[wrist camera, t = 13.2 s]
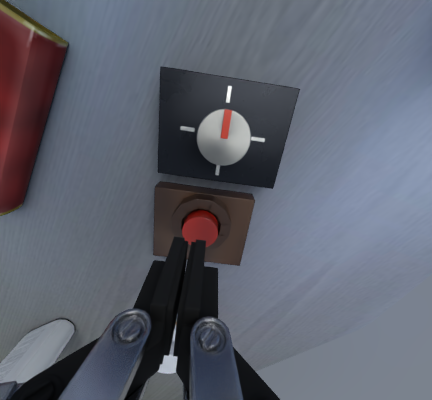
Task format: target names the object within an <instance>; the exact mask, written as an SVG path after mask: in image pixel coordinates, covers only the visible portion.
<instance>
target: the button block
mask: <svg viewBox="0 0 432 400" xmlns="http://www.w3.org/2000/svg"><path fill="white" fill-rule="evenodd" d="M254 203H255V199H254V197H253V195H252V194H248V193H241V192H234V191H226V190H219V189H212V188H205V187H197V186H190V185H183V184H176V183H168V182H161V181H160V182H159V183H158V184H157V185H156V186H155V206H154V251H153V255H156V256H165V257H167V256H168V253H169V250H170V247H171V244H172V241H173V238H174V237H182V238H183V235H182V228H183V225H184V222H185V219H186V217H187V216H188V215H189V214H190V213H192V212H194V211H198V210H204V211H207V212H210V213H211V214H212V215H214V216H215V218H216V219H217V222H218V236H217V239H216V241H215V242H214V243H213V244H211V245H210V246H208V247H206V249H205V260H204V261H205V262H213V263H221V264H230V265H238V266H240V262H241V258H242V254H243V249H244V245H245V241H246V237H247V232H248V228H249V224H250V220H251V215H252V211H253V207H254ZM190 247H191V245H189V244H188V250H187V259H188V257H189V252H190Z"/></svg>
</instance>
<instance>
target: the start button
mask: <svg viewBox="0 0 432 400" xmlns="http://www.w3.org/2000/svg"><path fill="white" fill-rule="evenodd" d="M182 235H183V238H185V241H188V244H189V245H191V242H196V239H198V240H206V247H208V246H210V245H211V244H213V243H214V242H215V241H216V239H217V236H218V222H217V219H216V218H215V216H214V215H212V214H211V213H210V212H207V211H204V210H198V211H194V212H192V213H190V214H189V215H188V216H187V217H186V219H185V222H184V225H183V228H182Z"/></svg>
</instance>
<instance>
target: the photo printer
mask: <svg viewBox="0 0 432 400" xmlns="http://www.w3.org/2000/svg"><path fill="white" fill-rule="evenodd" d="M74 332H75V330H74V325H73V324H72V323H71V322H69V321H68V320H65V319H63V320H62V319H59V320H55V321H53V322H50V323H48V324H46V325H43V326H41V327H39V328H37V329H34V330H32V331H31V332H29V333H28V334H27V335H25V336H24V337H23V338H22V340H21V341H20V342H19V343H18V344H17V345H16V346H15V348H14V349H13V350H12V351H11V352H10V353H9V354H8V355H7V357H6V358H5V359H4V360H3V361H2V362H1V363H0V383H4V382H10V381H17V383H24V382H27V381H28V380H30V379H31V378H32V377H34V376H35V375H37V374H39V373H40V372H42V371H44V370H45V369H47V368H49V367H50V366H52V365H53V364H54V362H55V361H56V359H57V358H58V356H59V355H60V353H61V352H62V350H63V349H64V347H65V346H66V344H67V343H68V341H69V340H70V338H71V337H72V335H73V334H74Z"/></svg>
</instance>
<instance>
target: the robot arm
mask: <svg viewBox="0 0 432 400" xmlns="http://www.w3.org/2000/svg"><path fill="white" fill-rule="evenodd" d="M205 249H206V240H198V239H196V242H191V247H190V252H189V257H188V262H187V267H186V259H187V250H188V241H185V238H182V237H174V238H173V241H172V244H171V247H170V250H169V253H168V256H167V258H166V261H165V262H164V261H156V260H154V261H153V263H152V266H151V268H150V270H149V273H148V275H147V277H146V280H145V282H144V284H143V286H142V289H141V291H140V293H139V296H138V298H137V300H136V303H135V305H134V307H133V309H128V310H125V311H123V312H121V313H119V314H118V315H117V316H115V317H114V319H113V320H112V321H111V322H110V324H109V325H108V327H107V328H106V329H105V331H104V332H103V334H102V335H101V337H99V338H98V339H96V340H94V341H92V342H91V343H89V344H87V345H86V346H84V347H82V348H81V349H79V350H77V351H76V352H74V353H72V354H71V355H69V356H67V357H66V358H64V359H62V360H61V361H59V362H57V363H56V364H54V365H52V366H50V367H49V368H47V369H45V370H44V371H42V372H40V373H39V374H37V375H35V376H34V377H32V378H31V379H30V380H28V381H27V382H24V383H17V381H10V382H4V383H0V400H142V398H143V396H144V393H145V390H146V388H147V385H148V382H149V378H150V377H151V376H152V375H154V374H155V373H156V372H157V371H158V370H159V368H160V364H162V363H163V359H164V355H166V356H169V354H170V349H171V344H172V339H173V334H174V329H175V324H176V319H177V324H176V334H175V343H174V353H173V356H176V357H177V365H176V372H177V374H178V376H179V377H180V379H181V380H182V382H183V400H280V399H279V398H278V397H277V395H276V394H275V393H274V392H273V391H272V390H271V389H270V388H269V387H268V385H267V384H266V383H265V382H264V381H263V380H262V379H261V378H260V376H258V374H257V373H256V372H255V371H254V370H253V369H252V368H251V366H250V365H249V364H248V363H247V362H246V361H245V360H244V359H243V357H242V356H241V355H240V354H239V353H238V352H237V351H236V350H235V349H234V347H233V345H232V340H231V335H230V332H229V329H228V327H227V326H226V325H225V323H224V322H222V321H221V320H220V319H218V268H213V267H205V266H204V260H205ZM185 268H186V271H185ZM177 314H178V315H177Z"/></svg>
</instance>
